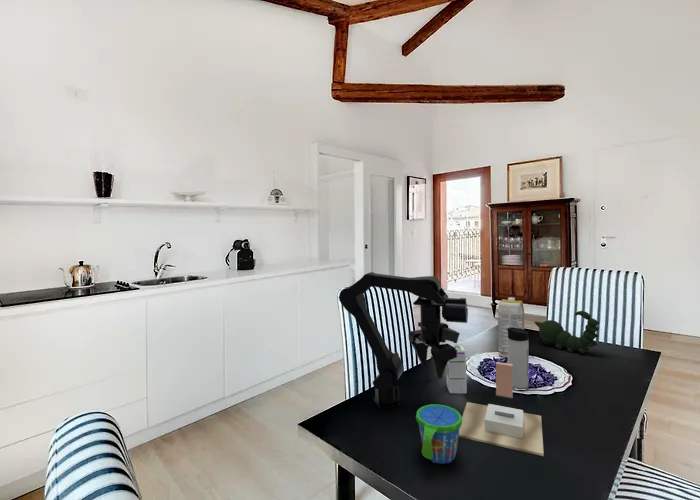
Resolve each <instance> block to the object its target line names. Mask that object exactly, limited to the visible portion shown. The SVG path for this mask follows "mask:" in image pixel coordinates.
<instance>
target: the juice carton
mask: <svg viewBox="0 0 700 500" xmlns="http://www.w3.org/2000/svg"><path fill="white" fill-rule="evenodd" d="M507 328H519V329H523V330H524V331H525V308H524V303H523V300H516V298H515V297H507V299H501V300H500V301H499V303H498V307H497V349H498V354H499V357H500V356H502V357H501V358H505V357H508V331H507Z"/></svg>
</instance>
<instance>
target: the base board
mask: <svg viewBox="0 0 700 500" xmlns="http://www.w3.org/2000/svg"><path fill="white" fill-rule="evenodd" d="M487 407H488V405H485V404H479V403H473V402H468V401H467V402H466V404H465V407H464V410H463V414H462V415H461V416H462V424H461V427H460V429H459V437H458V438H463V439H467V440H470V441H471V440H472V441H475V442H480V443H485V444H488V445H493V446H497V447H501V448H506V449H509V450H515V451H518V452H523V453H527V454H533V455H536V456H541V457H545V456H544V439H543V437H544V436H543V426H542V423H543V422H542V416H541V415H538V414H532V413H527V412H523V439H522V438H517V437H512V436H508V435H503V434H498V433H494V432H489V431H485V417H486V412H487Z"/></svg>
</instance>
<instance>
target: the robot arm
mask: <svg viewBox="0 0 700 500" xmlns="http://www.w3.org/2000/svg"><path fill="white" fill-rule="evenodd" d="M372 287H374V288H378V289H379V288H381V289H387V290H388V289H389V290H395V291H401V292H407V293H411V294H412V295H414V296H416V297H417V299H416V300H414V301H413V302H412V305H413V306H420V307H419V308H420V309H419V311H420V313H419V314H420V322H419V321H418V322H417V325H418V327H420V329H418V330H417V329H416V330H410V331H409V333H408V336H407V337H408V341H410V345H412V347H413V350H414V351H415V354H416V356H417V358H418V359H419V362H420V364H421V366H422V367H426V366H427V363H428V362H427V360H428V349H429V348H430V354H431V356H430V358H431V362H432V365H433V368H434V371H435V374H436V377H437V379H439V380H440V379H442V378H443V375H444V372H445V370H446V364H447V362H448V361H449V360H452V359H454V358H457V350H456V349H455V348H454V347H453V346H451V345H452V344H449V343H446V342H447V341H448V342H453V343H454V344H457V343H458V340H459V338H460V332H458V331H457V330H454V329H452V328H450V327H449V324H447V323H445V322H449V323H462V324H463V323H464V324H467V323H468V317H469V314H468V313H469V308H468V303H467V298H466V297H465V298H464V297H460V298H456V297H455V298H454V297H451V298H450V297H449V295H448V294H447V293H446V291H445V290H444V289H443V288H442V282H441V281H440V280H439V279H438V277H436V276H433V275H427V276H417V277H406V276H400V275H399V276H398V275H390V274H383V273H375V272H373V271H371V272H368V273H365V274H363V275H362V276H361V278H360V279H359V280H357V281H356V282H355V283H354V284H352V285H350V286H347V287H345V288H343V289H342V290H340V292H339V295H338V300H339V302H340V303H341V305H342V306H343V308H344V309H345V311H346V312H348V313H349V314H351V315H352V316H353V317H354V320H355V321H356V323H357V324H358V327H359V328H360V330H361V333H362V335H363V336H364V337H365V340H366V342H367V344H368V346H369V347H370V349H371V351H372V353H373V355H374V357H375V363H376V368H377V369H376V370H377V372H378V375H377V376H376V377H375V378H374V380H373V381H372V384H373V388H374V391H375V392H374V393H375V394H374V395H375V396H374V397H373V401H374V402H375V404H376V405H377V407H378V408H379V409H380V410H385V409H389V408H395V407H399V406H400V405H401V404H400V402H399V401H400V395H399V394H400V391H399V387H398V384H397V381H398V380H399V379H400V377H401V376H402V374H403V371H404V365H403V364H404V361H403V360H402V359H401V357H400V355H399V353H398V351H395V352H393V351H392V350H390V349H389V347H388V346H387V344H386V342H385V340H384V338H383V337H382V335H381V333H380V331H379V329H378V328H377V326H376V323H375V321H374V320H373V318H372V316H371V314H370V313H369V310H368V308H367V301H366V296H365V293H366V292H368V291H369V290H370V288H372ZM441 317H442V318H443V320H445V322H441ZM440 343H441V344H440Z"/></svg>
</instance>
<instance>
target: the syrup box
mask: <svg viewBox="0 0 700 500" xmlns="http://www.w3.org/2000/svg"><path fill="white" fill-rule="evenodd" d="M450 345H451V346H453V347H454V348H455V349H456V350H457V358H454V359H452V360H449V361H448V362H447V364H446V367H445V370H446V371H445V374H446V378H445V379H446V387H447V390H448V392H449V394H460V395H462V394H467V387H468V386H467V365H466V364H467V363H466V362H467V360H466V358H467V357H466V350H465V348H464V346H463V344H450Z"/></svg>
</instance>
